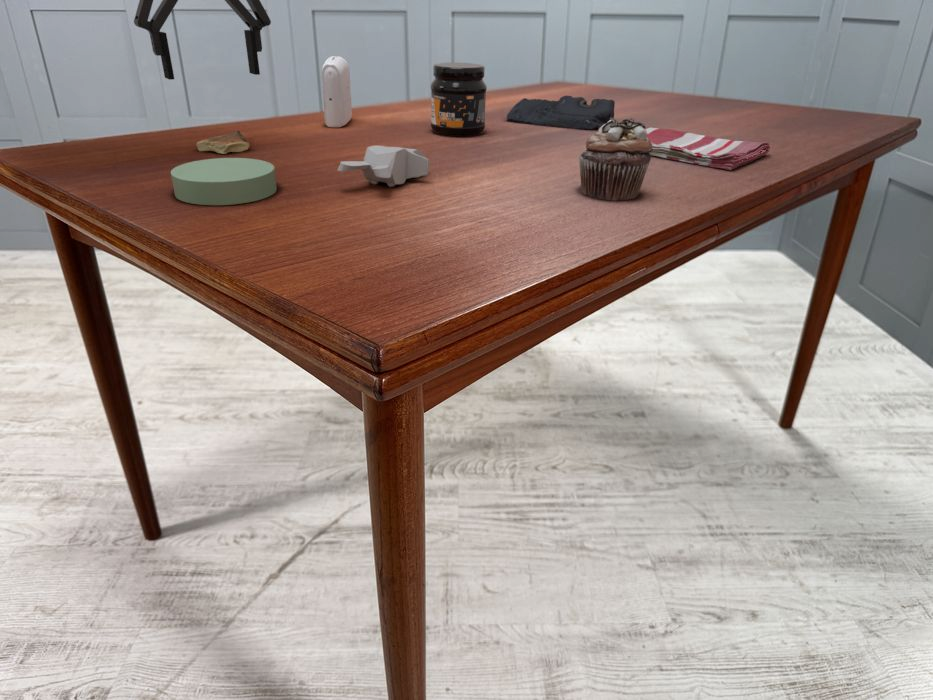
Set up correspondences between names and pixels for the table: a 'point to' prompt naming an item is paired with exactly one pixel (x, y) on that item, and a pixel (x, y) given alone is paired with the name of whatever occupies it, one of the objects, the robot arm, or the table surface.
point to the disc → (224, 181)
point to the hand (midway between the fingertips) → (213, 76)
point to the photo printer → (336, 92)
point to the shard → (224, 143)
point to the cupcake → (615, 160)
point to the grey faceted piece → (389, 164)
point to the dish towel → (703, 148)
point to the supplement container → (458, 99)
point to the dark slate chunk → (563, 112)
